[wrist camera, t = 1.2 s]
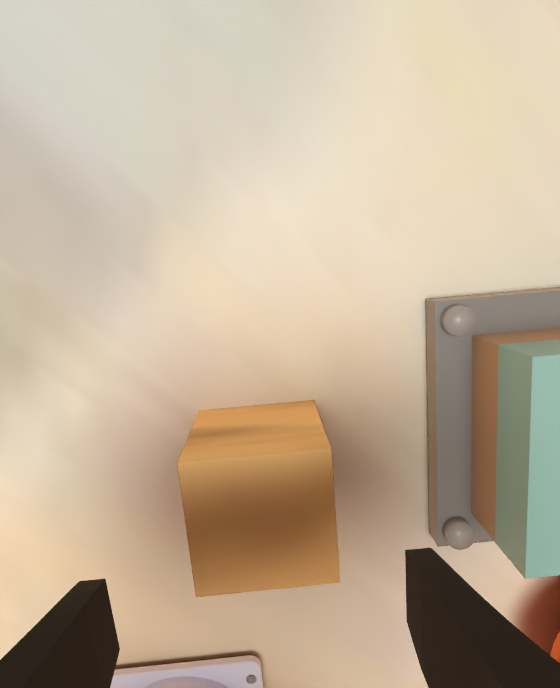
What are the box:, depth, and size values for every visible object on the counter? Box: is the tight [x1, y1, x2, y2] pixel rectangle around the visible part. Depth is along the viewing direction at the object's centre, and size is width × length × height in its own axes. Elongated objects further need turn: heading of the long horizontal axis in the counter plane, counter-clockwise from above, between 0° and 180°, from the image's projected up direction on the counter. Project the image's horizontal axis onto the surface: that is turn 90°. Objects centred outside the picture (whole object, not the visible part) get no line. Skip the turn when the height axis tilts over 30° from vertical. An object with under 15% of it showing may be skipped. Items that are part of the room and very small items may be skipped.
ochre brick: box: [177, 400, 340, 597], centre depth 17 cm, size 5×5×5 cm
